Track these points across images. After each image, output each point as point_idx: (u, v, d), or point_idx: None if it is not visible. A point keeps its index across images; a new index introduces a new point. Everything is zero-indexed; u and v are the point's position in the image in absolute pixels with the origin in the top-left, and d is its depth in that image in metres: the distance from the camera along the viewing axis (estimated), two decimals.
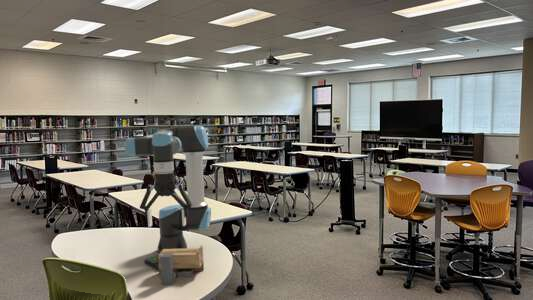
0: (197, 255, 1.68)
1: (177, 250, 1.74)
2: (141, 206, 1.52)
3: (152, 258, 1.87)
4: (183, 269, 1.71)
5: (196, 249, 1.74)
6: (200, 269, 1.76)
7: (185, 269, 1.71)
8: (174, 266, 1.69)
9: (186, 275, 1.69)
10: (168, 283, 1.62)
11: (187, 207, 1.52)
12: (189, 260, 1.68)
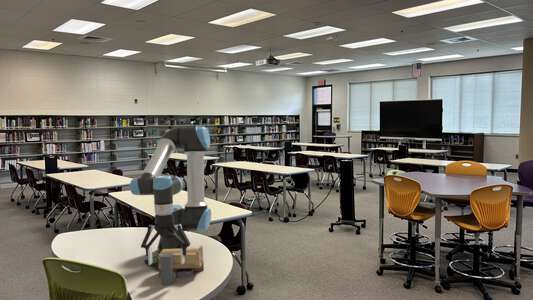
0: (197, 255, 1.68)
1: (177, 250, 1.74)
2: (142, 245, 1.61)
3: (152, 258, 1.87)
4: (183, 269, 1.71)
5: (196, 249, 1.74)
6: (200, 269, 1.76)
7: (185, 269, 1.71)
8: (174, 266, 1.69)
9: (186, 275, 1.69)
10: (168, 283, 1.62)
11: (185, 246, 1.61)
12: (189, 260, 1.68)
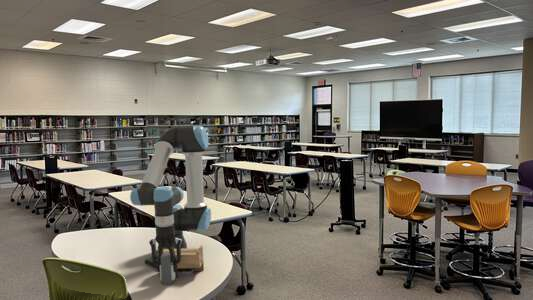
0: (197, 255, 1.68)
1: None
2: (153, 261, 1.62)
3: None
4: (183, 269, 1.71)
5: (196, 249, 1.74)
6: (200, 269, 1.76)
7: (185, 269, 1.71)
8: None
9: (186, 275, 1.69)
10: (168, 283, 1.62)
11: (176, 262, 1.62)
12: (189, 260, 1.68)
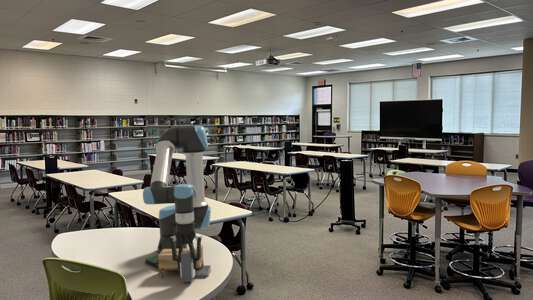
0: None
1: (177, 250, 1.74)
2: (173, 258, 1.61)
3: (153, 258, 1.87)
4: (200, 268, 1.71)
5: (196, 249, 1.74)
6: None
7: (202, 268, 1.71)
8: (174, 266, 1.69)
9: (203, 274, 1.69)
10: (188, 280, 1.61)
11: (196, 260, 1.62)
12: None
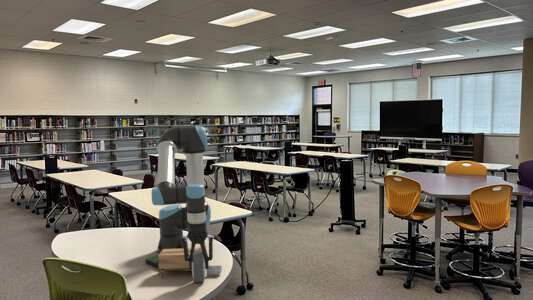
0: None
1: (177, 250, 1.74)
2: (185, 258, 1.61)
3: (153, 258, 1.87)
4: (211, 268, 1.71)
5: (196, 249, 1.74)
6: None
7: (213, 268, 1.71)
8: (174, 266, 1.69)
9: (215, 274, 1.69)
10: (200, 280, 1.61)
11: (208, 260, 1.62)
12: None
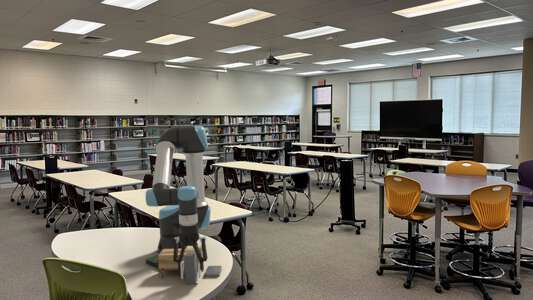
0: None
1: None
2: (174, 259, 1.61)
3: (153, 258, 1.87)
4: (211, 268, 1.71)
5: None
6: None
7: (213, 268, 1.71)
8: (174, 266, 1.69)
9: (214, 274, 1.69)
10: (192, 283, 1.61)
11: (203, 261, 1.62)
12: None
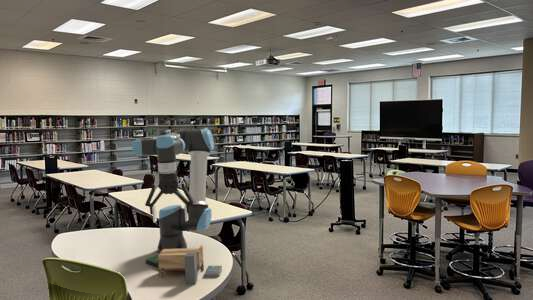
0: (197, 255, 1.68)
1: (177, 250, 1.74)
2: (146, 203, 1.64)
3: (153, 258, 1.87)
4: (211, 268, 1.71)
5: (196, 249, 1.74)
6: None
7: (213, 268, 1.71)
8: (174, 266, 1.69)
9: (214, 274, 1.69)
10: (192, 283, 1.61)
11: (189, 204, 1.65)
12: None
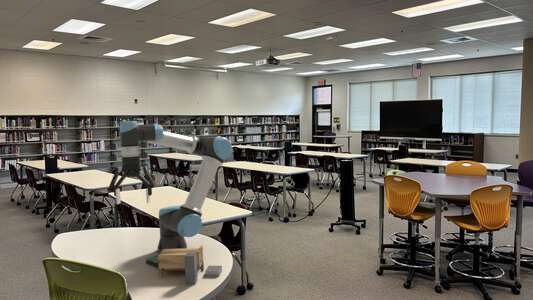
0: (197, 255, 1.68)
1: (177, 250, 1.74)
2: (110, 185, 1.73)
3: (153, 258, 1.87)
4: (211, 268, 1.71)
5: (196, 249, 1.74)
6: None
7: (213, 268, 1.71)
8: (174, 266, 1.69)
9: (214, 274, 1.69)
10: (192, 283, 1.61)
11: (151, 186, 1.73)
12: None
